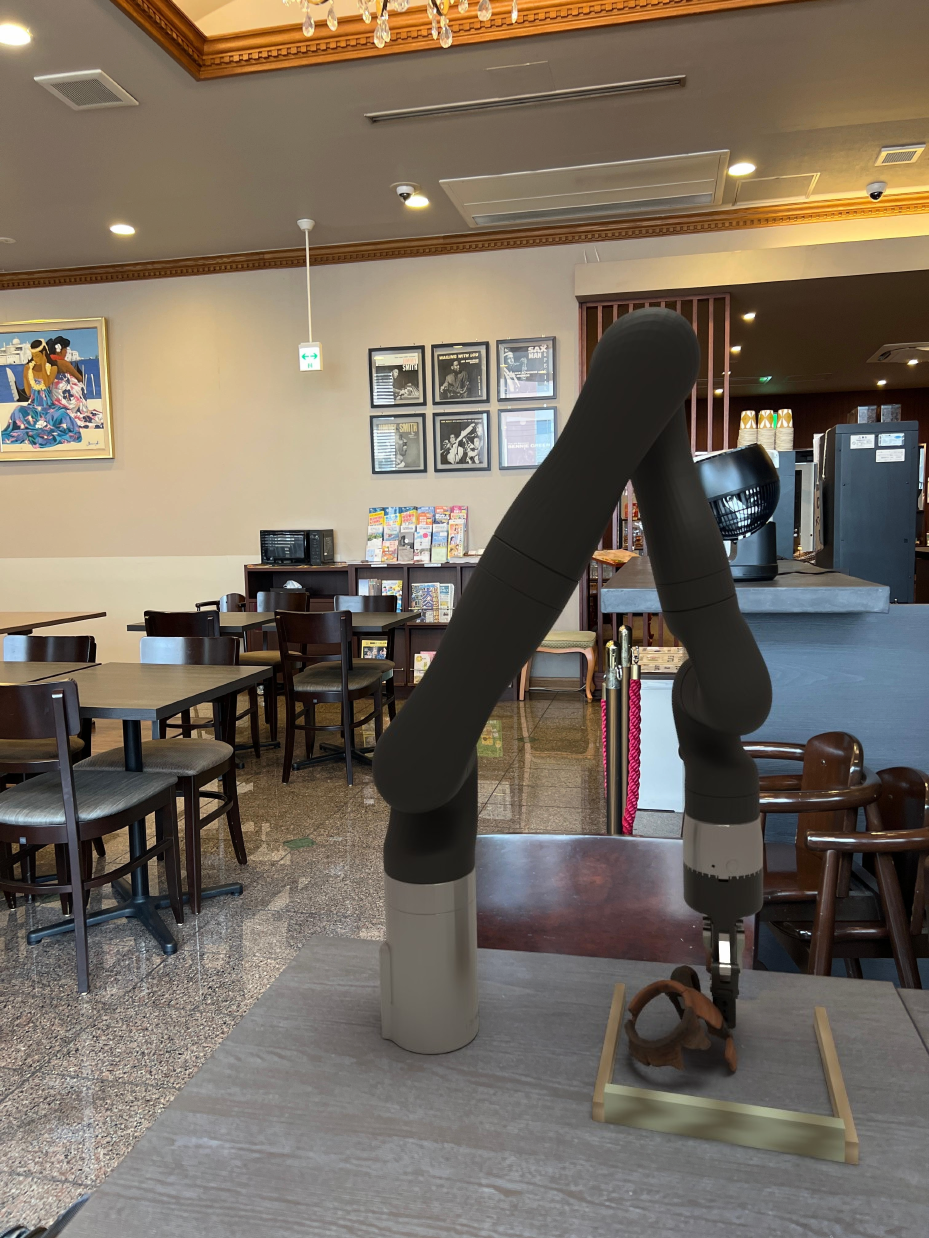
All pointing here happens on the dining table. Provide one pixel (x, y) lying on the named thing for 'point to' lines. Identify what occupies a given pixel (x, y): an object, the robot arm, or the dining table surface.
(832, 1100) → the bay
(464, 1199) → the dining table surface
